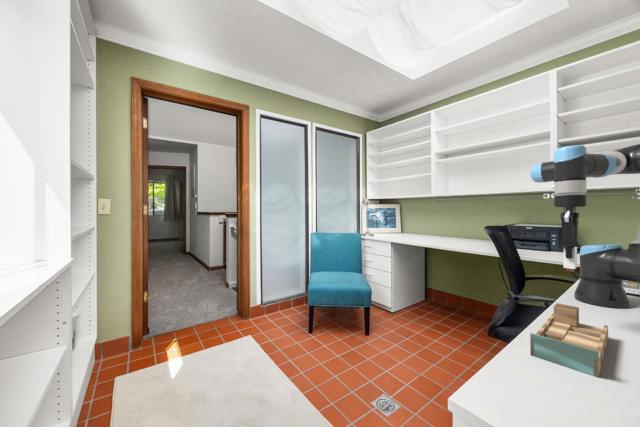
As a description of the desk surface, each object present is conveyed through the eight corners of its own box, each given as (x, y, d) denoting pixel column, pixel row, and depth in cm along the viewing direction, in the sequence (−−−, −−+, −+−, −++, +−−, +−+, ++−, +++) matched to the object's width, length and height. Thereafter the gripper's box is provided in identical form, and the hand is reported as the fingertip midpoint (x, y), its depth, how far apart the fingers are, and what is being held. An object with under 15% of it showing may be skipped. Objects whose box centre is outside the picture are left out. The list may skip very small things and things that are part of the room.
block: (557, 317, 84) (556, 302, 84) (579, 322, 80) (578, 307, 80) (553, 321, 80) (553, 306, 80) (576, 326, 77) (576, 311, 76)
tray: (552, 325, 84) (552, 308, 84) (608, 339, 75) (608, 319, 75) (530, 355, 67) (530, 333, 67) (598, 377, 58) (598, 352, 58)
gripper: (558, 196, 92) (559, 262, 92) (549, 194, 83) (549, 269, 83) (589, 194, 87) (589, 266, 87) (582, 193, 77) (583, 273, 77)
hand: (570, 267), depth 85 cm, fingers open, 2 cm apart
